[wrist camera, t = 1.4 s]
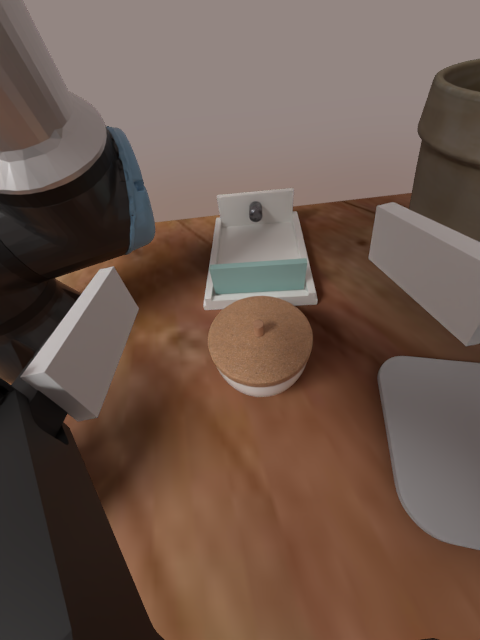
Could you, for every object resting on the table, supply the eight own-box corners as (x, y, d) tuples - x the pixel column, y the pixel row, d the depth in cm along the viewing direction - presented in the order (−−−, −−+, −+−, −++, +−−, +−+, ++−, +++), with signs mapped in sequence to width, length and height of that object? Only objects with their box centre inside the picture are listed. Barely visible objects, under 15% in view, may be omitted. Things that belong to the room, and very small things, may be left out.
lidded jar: (227, 330, 35) (215, 283, 28) (304, 334, 33) (313, 285, 26) (212, 405, 29) (191, 370, 21) (305, 415, 27) (319, 380, 19)
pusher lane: (316, 304, 36) (325, 268, 31) (204, 310, 38) (193, 276, 32) (298, 222, 49) (301, 187, 44) (216, 229, 51) (209, 195, 46)
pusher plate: (303, 289, 36) (307, 262, 33) (215, 294, 38) (209, 269, 34) (302, 284, 37) (306, 258, 33) (216, 289, 38) (209, 264, 34)
